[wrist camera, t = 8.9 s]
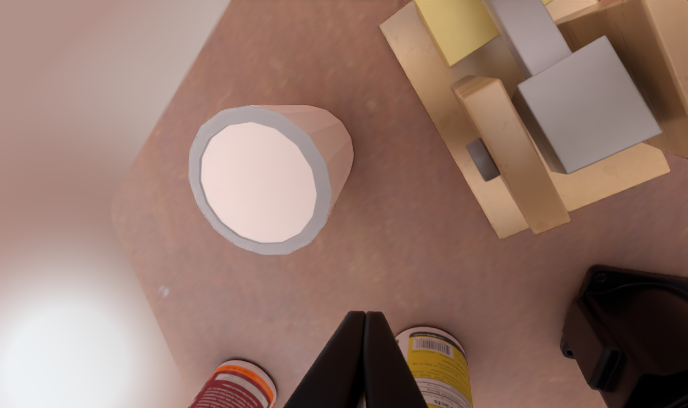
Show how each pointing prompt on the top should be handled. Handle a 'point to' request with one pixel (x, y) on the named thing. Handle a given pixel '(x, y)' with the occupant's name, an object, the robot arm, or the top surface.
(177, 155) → the top surface
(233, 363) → the pill bottle
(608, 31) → the butter cutter
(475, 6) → the butter
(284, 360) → the top surface
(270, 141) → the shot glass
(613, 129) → the lever
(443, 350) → the supplement bottle
